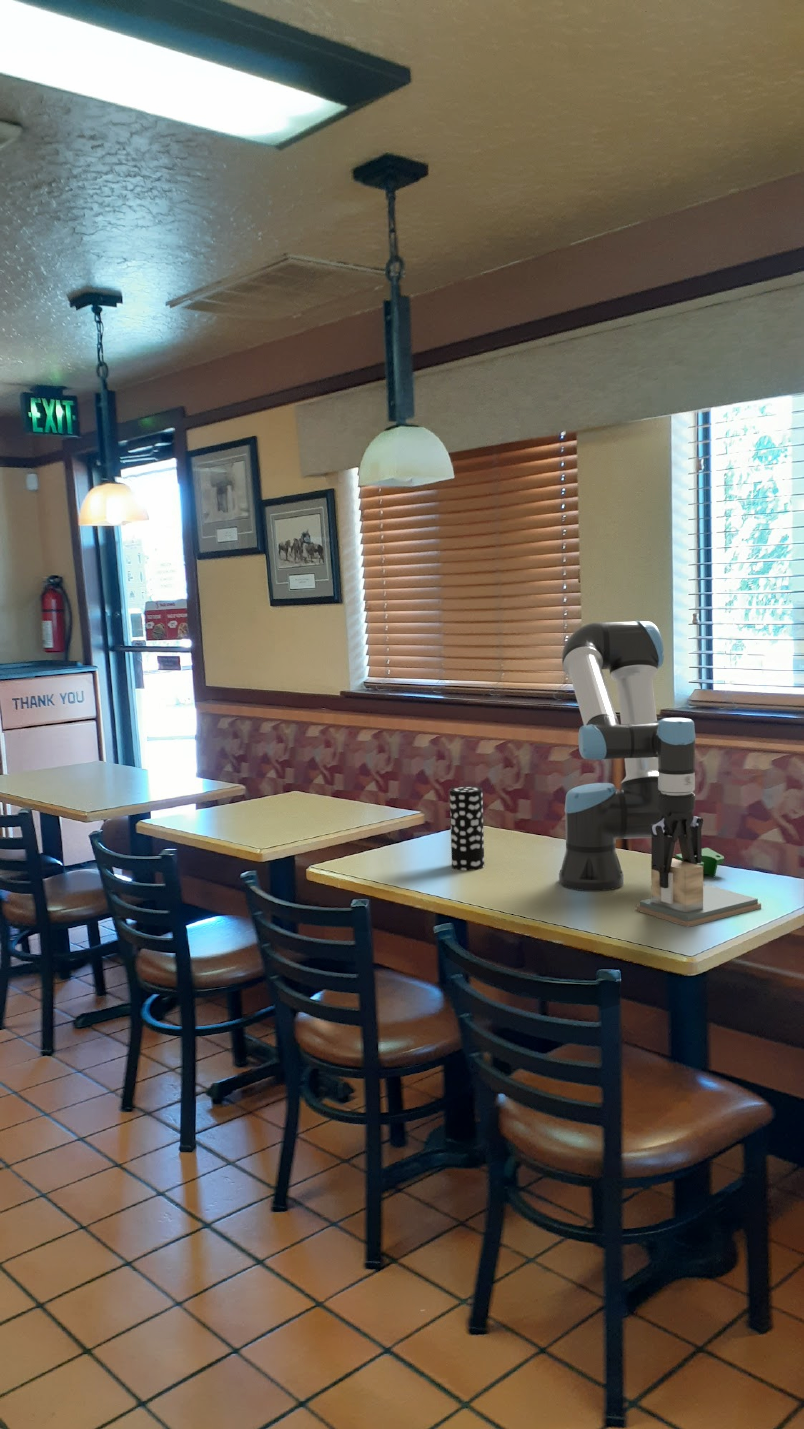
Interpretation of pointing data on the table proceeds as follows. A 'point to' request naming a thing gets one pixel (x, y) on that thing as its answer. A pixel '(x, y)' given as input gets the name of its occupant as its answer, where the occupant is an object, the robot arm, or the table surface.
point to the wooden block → (681, 886)
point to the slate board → (704, 907)
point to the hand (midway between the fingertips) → (677, 899)
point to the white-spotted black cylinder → (467, 828)
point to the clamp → (708, 861)
